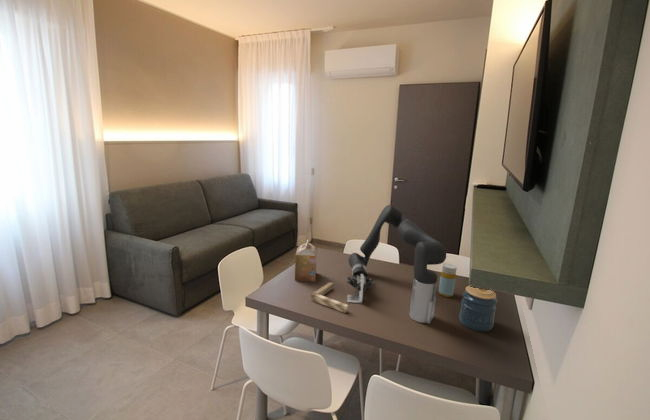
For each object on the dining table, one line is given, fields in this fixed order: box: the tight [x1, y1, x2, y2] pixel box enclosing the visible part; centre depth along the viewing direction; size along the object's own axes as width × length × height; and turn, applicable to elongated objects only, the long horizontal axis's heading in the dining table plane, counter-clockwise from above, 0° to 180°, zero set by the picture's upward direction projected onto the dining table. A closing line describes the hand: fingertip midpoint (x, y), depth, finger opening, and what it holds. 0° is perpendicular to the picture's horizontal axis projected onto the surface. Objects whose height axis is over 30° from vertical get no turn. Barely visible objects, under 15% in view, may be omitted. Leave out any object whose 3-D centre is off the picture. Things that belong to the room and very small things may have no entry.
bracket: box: [346, 274, 364, 304], centre depth 142 cm, size 7×5×12 cm
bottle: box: [438, 263, 457, 298], centre depth 152 cm, size 7×7×15 cm
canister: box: [458, 285, 499, 332], centre depth 128 cm, size 13×13×18 cm
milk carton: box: [294, 239, 318, 282], centre depth 164 cm, size 11×11×19 cm
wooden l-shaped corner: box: [310, 281, 349, 314], centre depth 143 cm, size 18×16×3 cm
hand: (361, 289), depth 139 cm, fingers closed on bracket, 1 cm apart
